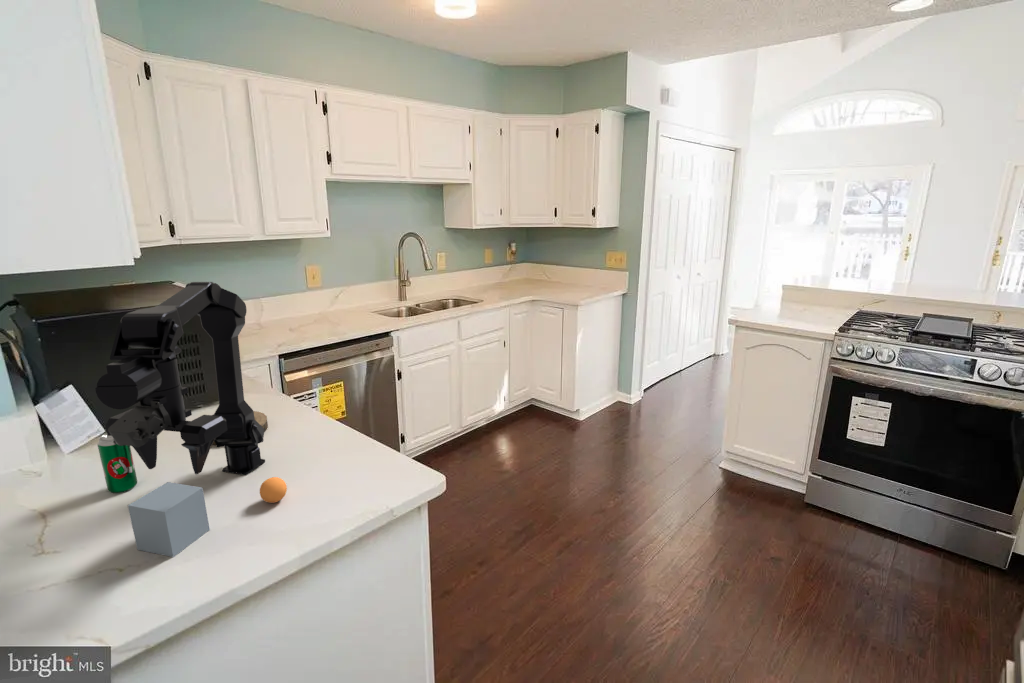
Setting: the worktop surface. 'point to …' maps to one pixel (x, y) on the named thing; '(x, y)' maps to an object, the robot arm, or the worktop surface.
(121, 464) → the soda can
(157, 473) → the worktop surface
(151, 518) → the matte gray cuboid
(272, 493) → the ball
